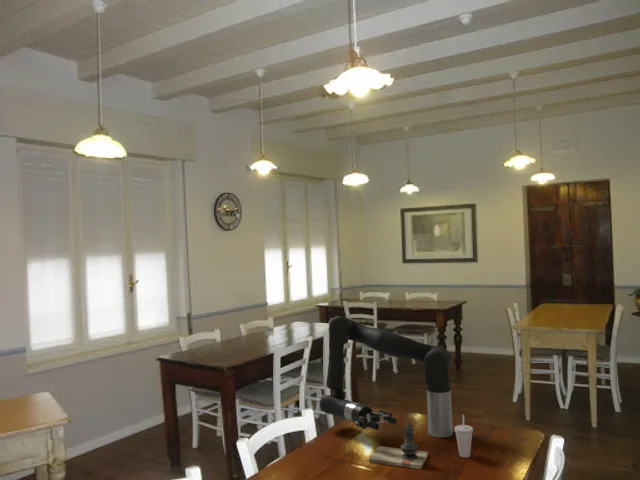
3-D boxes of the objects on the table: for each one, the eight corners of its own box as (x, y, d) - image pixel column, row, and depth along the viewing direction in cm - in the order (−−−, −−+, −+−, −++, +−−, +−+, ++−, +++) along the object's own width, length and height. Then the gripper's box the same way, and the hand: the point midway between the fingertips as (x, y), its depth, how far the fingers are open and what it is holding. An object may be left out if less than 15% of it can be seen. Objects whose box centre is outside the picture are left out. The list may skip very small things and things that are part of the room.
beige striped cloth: (379, 449, 198) (379, 445, 198) (428, 455, 191) (428, 451, 191) (369, 462, 187) (368, 458, 187) (420, 469, 180) (420, 465, 180)
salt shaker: (418, 460, 184) (416, 425, 184) (400, 459, 186) (399, 424, 185) (418, 453, 190) (417, 419, 190) (401, 452, 191) (400, 418, 191)
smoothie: (474, 452, 192) (473, 413, 192) (473, 459, 186) (472, 419, 186) (456, 450, 194) (454, 412, 194) (454, 458, 188) (453, 417, 188)
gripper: (343, 407, 205) (372, 418, 192) (371, 400, 214) (400, 409, 201) (344, 427, 205) (372, 439, 192) (372, 419, 214) (401, 429, 201)
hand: (387, 424), depth 197 cm, fingers open, 8 cm apart
